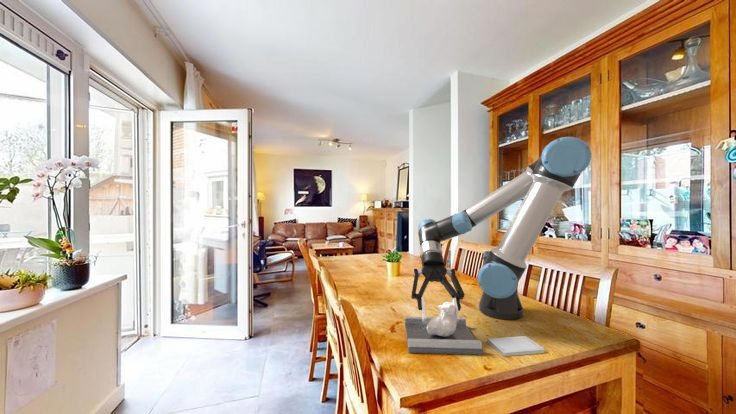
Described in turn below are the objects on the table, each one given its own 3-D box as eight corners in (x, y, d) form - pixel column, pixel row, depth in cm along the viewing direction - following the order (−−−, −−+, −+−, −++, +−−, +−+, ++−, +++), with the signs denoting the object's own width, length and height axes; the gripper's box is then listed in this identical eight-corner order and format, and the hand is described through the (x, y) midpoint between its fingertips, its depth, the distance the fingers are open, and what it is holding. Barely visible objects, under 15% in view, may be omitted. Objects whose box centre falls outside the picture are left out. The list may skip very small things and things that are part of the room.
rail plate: (464, 325, 92) (464, 317, 92) (482, 354, 74) (482, 343, 74) (404, 324, 93) (404, 315, 93) (408, 352, 75) (408, 342, 75)
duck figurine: (430, 346, 80) (448, 325, 74) (416, 323, 85) (432, 302, 79) (457, 336, 86) (476, 315, 81) (443, 315, 92) (459, 294, 86)
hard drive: (503, 352, 73) (545, 348, 74) (486, 337, 81) (524, 334, 83) (503, 358, 73) (545, 354, 75) (486, 343, 81) (524, 340, 83)
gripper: (461, 262, 98) (475, 326, 82) (400, 262, 100) (403, 324, 84) (465, 250, 93) (481, 315, 77) (401, 250, 94) (404, 314, 78)
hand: (441, 320), depth 80 cm, fingers open, 9 cm apart
